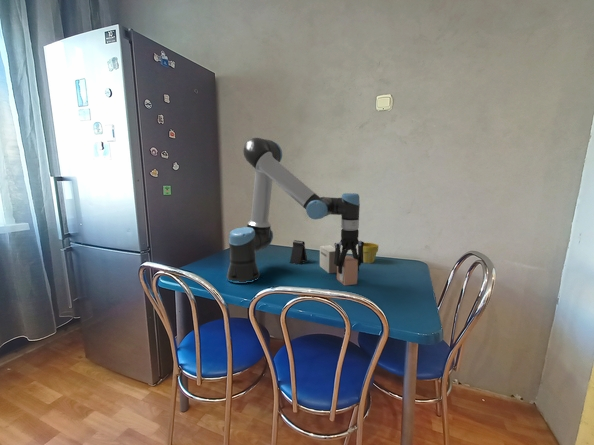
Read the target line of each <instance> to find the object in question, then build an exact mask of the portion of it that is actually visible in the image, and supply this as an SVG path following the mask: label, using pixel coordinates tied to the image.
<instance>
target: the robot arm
mask: <svg viewBox="0 0 594 445" xmlns="http://www.w3.org/2000/svg"><path fill="white" fill-rule="evenodd" d="M242 151H243V156H244V158H245V161H247V163H249V164H250V165H251V166H252V169H253V170H254V171H255V172H254V183H253V192H252V194H253V195H252V204H251V215H250V220H249V221H248V222H247V225H246V226H243V227H237V228H234V229H232V230H231V231H230V232H229V236H228V245H229V247H228V248H229V266H228V270H227V274H226V279H227V278H228V279H229V280H232V281H239V282H246V281H252V280H255V279H257V278H259V276H261V275H260V273H261V272H260V271H259V267H258V265H257V262H256V253H257V252H259V251H261V250H263V249H266V248H267V247H268V246H270V245H271V243H272V242H273V239H274V233H273V231H272V228H271V227H272V225H271V223H270V222H269V218H270V217H269V216H270V208H271V207H270V205H271V197H272V189H273V188H272V187H273V183H274V184H276V185H278V187H279V188H281V189H282V190H283V191H284V192H285V193H286V194H287V195H288V196H290V197H291V199H294V201H295V202H296V203H297V204H298V205H300V206H301V207H302V208H303V209H305V211H306V214H307V216H308V217H309V218H310V219H311V220H321V219H324V218H325V217H327V216H329V215H334V216H340V215H341V220H340V221H341V222H340V223H341V225H340V228H341V230H340V241H339V242H335V243H334V248H335V259H334V264H335V265H336V266H338V273H339V274H340V280H341V281H344V267H343V263H344V260H345V257H346V256H347V253H349V251H351V253H352V257H353V258H355V259H357V260H358V267H357V275H358V272H360V266H361V265H362V264H364V262H363V246H364V243H365V241H362V240H359V234H360V233H359V232H360V230H359V228H360V227H359V226H360V205H361V204H360V203H361V202H360V201H361V200H360V195H359V193H354V192H353V193H351V192H349V193H348V192H345V193H342V194H341V197H329V196H328V197H327V196H326V197H325V196H322V197H321V196H319V195H317V193H315V192H314V191H313V190H312V189H311V188H310V187H309V186H308V185H306V184H305V183H304V182H303V181H302V180H300V179H299V178H298V176H296V175H294V173H293V172H291V171H290V170H289V169H288V168H286V167H285V166H284V165H282V163H281V162H282V158H283V151H282V149H281V146H280V145H279V144H278V143H277V142H275V141H273V140H271V139H265V138H262V137H261V138H260V137H252V138H250V139H248V140H247V141H246V143H245V144H244V146H243V150H242ZM340 251H341V255H340ZM259 279H260V278H259Z"/></svg>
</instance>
